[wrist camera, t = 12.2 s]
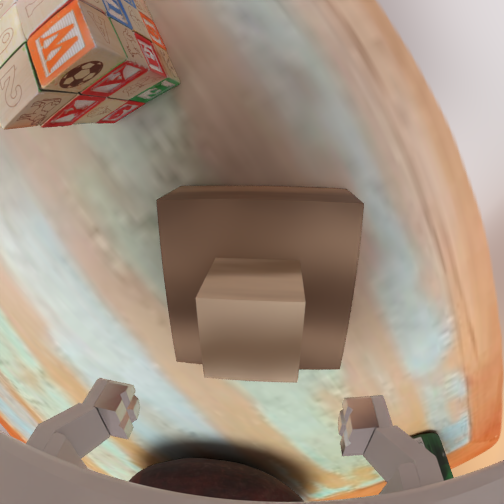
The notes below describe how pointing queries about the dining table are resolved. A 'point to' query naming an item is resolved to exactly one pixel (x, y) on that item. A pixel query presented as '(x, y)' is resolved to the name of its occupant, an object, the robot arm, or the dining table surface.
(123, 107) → the stack of blocks
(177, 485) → the jug
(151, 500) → the robot arm
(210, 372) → the beige wooden cube
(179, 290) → the walnut block
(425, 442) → the coffee jar
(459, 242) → the dining table surface
